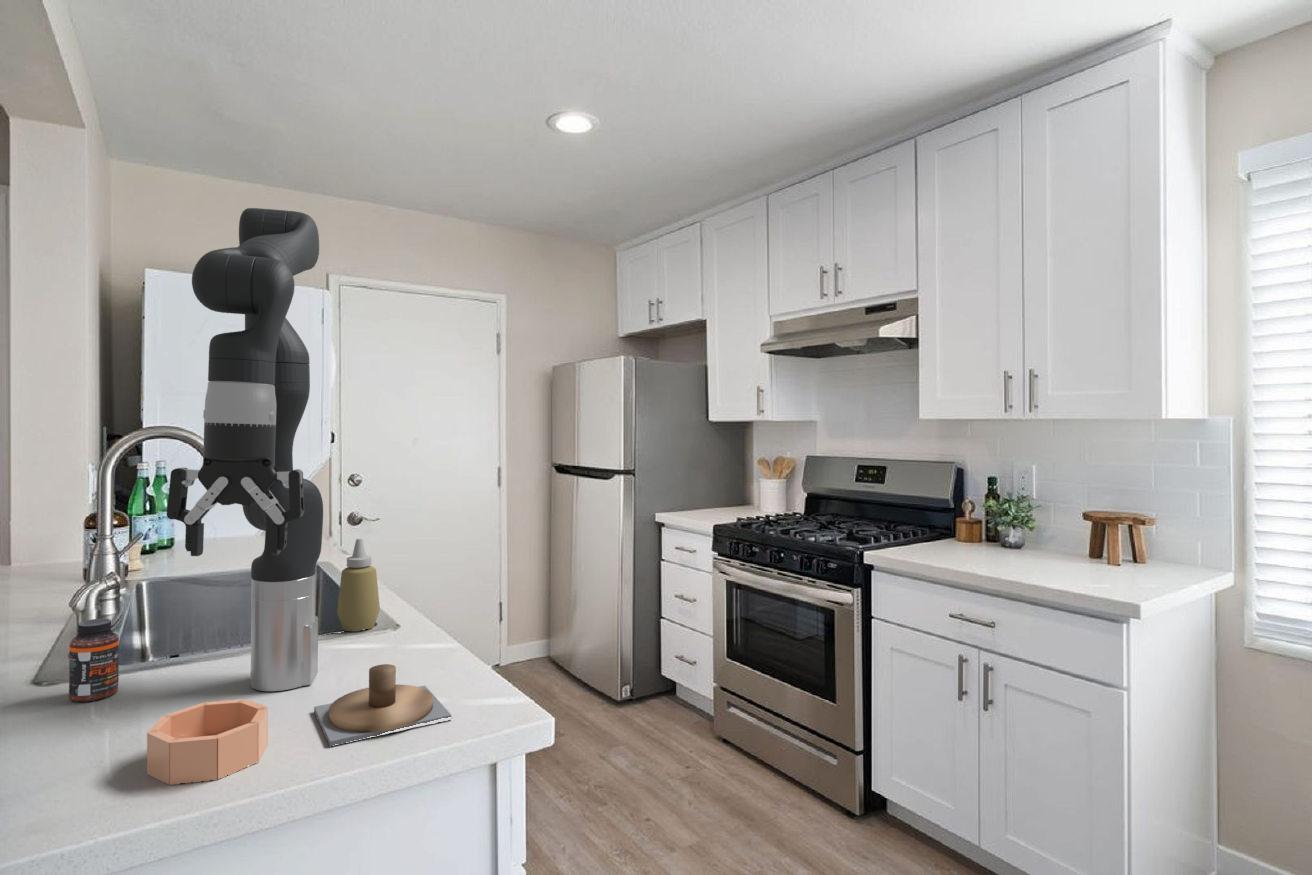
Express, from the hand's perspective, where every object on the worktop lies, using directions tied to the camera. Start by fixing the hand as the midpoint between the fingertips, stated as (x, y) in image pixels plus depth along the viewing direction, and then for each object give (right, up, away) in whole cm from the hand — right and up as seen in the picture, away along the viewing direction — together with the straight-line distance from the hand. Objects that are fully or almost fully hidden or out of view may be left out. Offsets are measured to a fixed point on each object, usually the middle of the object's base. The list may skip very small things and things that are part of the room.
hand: (236, 554), depth 87 cm
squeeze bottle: (-9, -25, +58) cm, 64 cm away
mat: (+11, -26, +17) cm, 33 cm away
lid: (+11, -25, +17) cm, 32 cm away
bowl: (-5, -26, +3) cm, 27 cm away
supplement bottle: (-34, -25, +22) cm, 48 cm away
